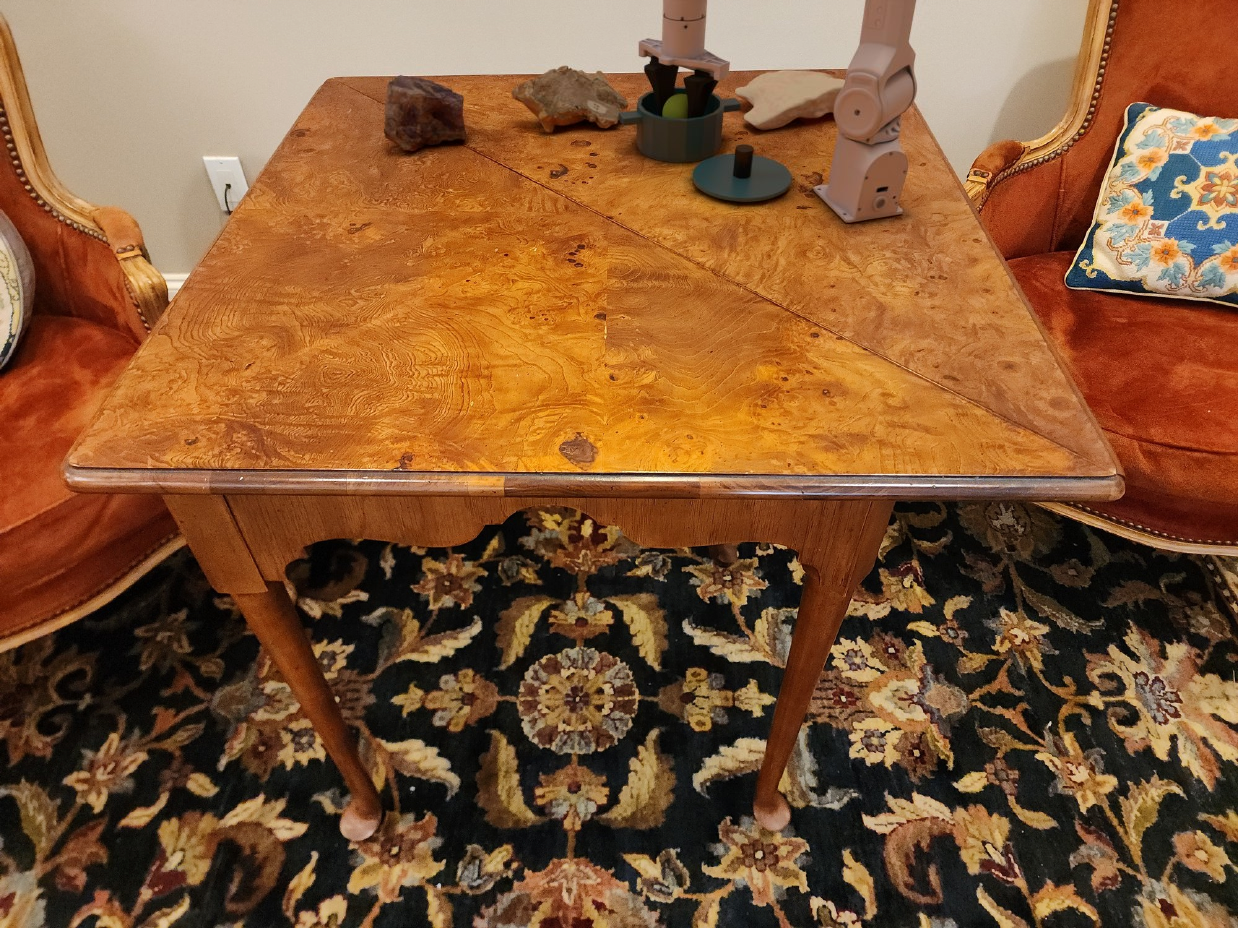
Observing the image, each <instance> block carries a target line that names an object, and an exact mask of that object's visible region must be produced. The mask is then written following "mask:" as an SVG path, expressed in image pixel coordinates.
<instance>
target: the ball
mask: <svg viewBox="0 0 1238 928" xmlns="http://www.w3.org/2000/svg"><path fill="white" fill-rule="evenodd" d="M662 115H663V117H666V118H675V119H688V101H687V95H685V94H676V95H673V96H672V97H670V98H669V99H668V100H667V101H666V103H665V105H664V107H663V113H662Z"/></svg>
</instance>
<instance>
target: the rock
mask: <svg viewBox="0 0 1238 928" xmlns="http://www.w3.org/2000/svg"><path fill="white" fill-rule="evenodd" d="M464 98H465V97H464V95H463V94H460V93H457V92H454V91H453V89H452V88H448V87H446V86H444V85H442V84H440V83H436V82H435V81H433V80H430V79H425V78H421V77H417V76H407V75H402V74H399V75H398V76H397V77H394V78H393V79H392V80H390V81H388V83H387V89H386V98H385V102H384V103H385V105H384V108H385V109H384V118H385V119H384V128H383V134H384V138H385V139H387V140H388V141H390V142H392V143H394V144H395V145H396V146H398V147H400V148H402V150H403V151H410V152H415V151H417V150H418V149H419V148H420V149H421V148H422V147H424V146H425V145H430V146H435V145H439V144H441V143H442V142H444V141H447V142H454V141H461V140H465V139H466V138H467V130H466V124H465V119H464V115H463V113H464Z"/></svg>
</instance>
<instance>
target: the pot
mask: <svg viewBox="0 0 1238 928" xmlns="http://www.w3.org/2000/svg"><path fill="white" fill-rule="evenodd" d="M676 94H685V95H687V93H686V88H685V86H675V89H674V95H676ZM741 108H742V103H741V102H740V101H739V100H738V99H737V98H736V97H731V98H730V97H729V98H722V97H721V96H720V95H719V94H718V93H714V91H713V92H712V94H711V96H710V98H709V101H708V103H707V106H706V109H705V112H704V115H703V117H697V118H689V119H675V118H666V117H661V116H659V112H658V108H657V103H656V99H655V95H654V92H653V90H651V91H647V92H645V93H644V94H642V95H641V96H640V97H638V99H637V103H636V109H635V110H628V111H627V110H626V111H621V112H620V113H619V119H618V122H620V123H621V125H622V126H623V127H626V126H633V125H636V146H637V149H638V150H639V152H640V153H641V154H642V155H644V156H646V157H648V158H650V159H652V160H656V161H660V162H664V163H674V164H684V163H687V164H688V163H696V162H700V161H704V160H706V159H708V158H711V157H714V156H716V154H717V153H718V152H719V151H720V150H721V147H722V135H723V124H724V113H733V112H739V111H741Z"/></svg>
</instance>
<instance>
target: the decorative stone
mask: <svg viewBox="0 0 1238 928" xmlns="http://www.w3.org/2000/svg"><path fill="white" fill-rule="evenodd" d="M844 83H845V79H843V78H835V77H833V76H832V75H831V74H829V73H826V72H821V71H807V70H791V69H781V70H777V71H774V72H765V73H762V74H759V75H758V76H756V77H755V78H753V79H752V80H750V81H749V82H748V83H747V84H746V85H745V86H739V87H736V88H735V91H734V93H735V95H736V96H737V97H738V98H740V99H742V100H745V101H746V102H748V103H750V105H752V106H753V108H751V109H750V110H749V111H748V112H746V113H745V114H744V115H743V120H744V121H746V123H748V124H750V125H752V126H753V127H755V128H756V129H758V130H760V131H767V130H774V129H779V128H782V127H785V126H786V125H787V124H789V123H791V122H792V121H794V120H796V119H797V118H803V119H818V118H821V117H823V116H824V115H825V114H828V113H833V114H834V104H835V101H836V98H837V96H838V95H839V93H840V91H841V90H842V88H843V86H844Z"/></svg>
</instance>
